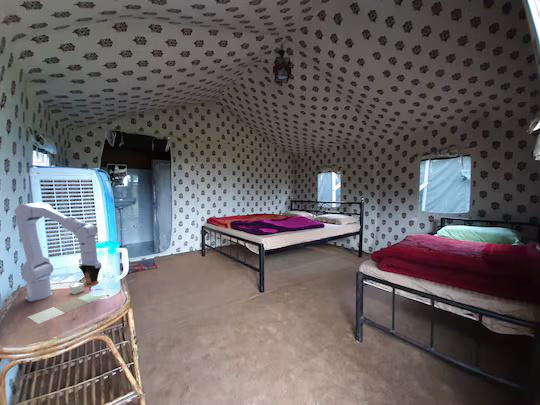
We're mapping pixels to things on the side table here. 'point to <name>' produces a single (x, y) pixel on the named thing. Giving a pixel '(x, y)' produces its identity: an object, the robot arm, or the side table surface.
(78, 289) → the die
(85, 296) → the board
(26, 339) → the side table surface
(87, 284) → the pawn
